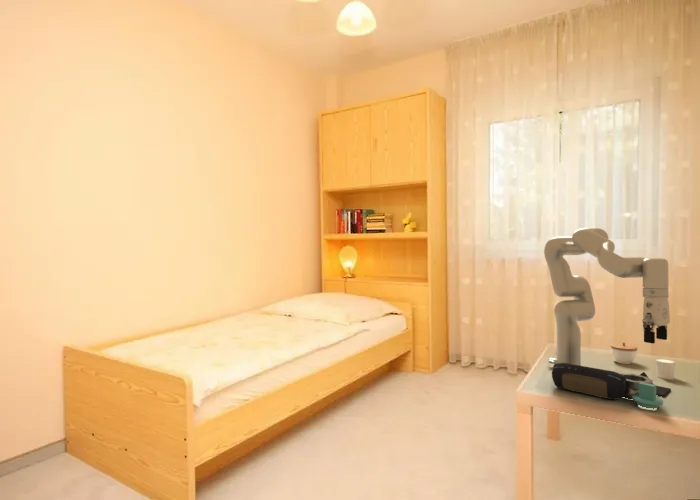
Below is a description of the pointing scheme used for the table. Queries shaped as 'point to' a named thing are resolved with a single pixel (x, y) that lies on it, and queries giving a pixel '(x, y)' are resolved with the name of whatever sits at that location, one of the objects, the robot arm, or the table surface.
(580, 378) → the portable speaker
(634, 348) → the lidded jar
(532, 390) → the table surface
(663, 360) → the beige cup
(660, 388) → the handheld gaming console
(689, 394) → the table surface
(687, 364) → the table surface
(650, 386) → the teal disc with handle
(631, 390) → the octagonal studded bezel
